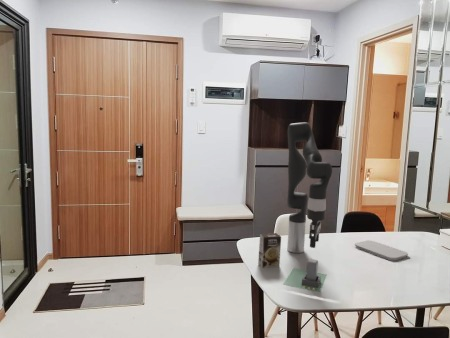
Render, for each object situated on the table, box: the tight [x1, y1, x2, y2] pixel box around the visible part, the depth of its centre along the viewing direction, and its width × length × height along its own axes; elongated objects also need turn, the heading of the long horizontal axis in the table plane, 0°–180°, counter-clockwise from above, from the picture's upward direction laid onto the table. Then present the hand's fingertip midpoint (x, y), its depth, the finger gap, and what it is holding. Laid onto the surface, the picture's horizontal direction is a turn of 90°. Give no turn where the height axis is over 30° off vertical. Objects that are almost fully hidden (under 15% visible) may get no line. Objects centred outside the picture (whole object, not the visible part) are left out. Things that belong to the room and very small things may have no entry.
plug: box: [306, 258, 319, 281], centre depth 159 cm, size 4×4×10 cm
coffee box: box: [257, 232, 282, 268], centre depth 179 cm, size 9×6×16 cm
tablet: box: [354, 240, 409, 262], centre depth 206 cm, size 16×26×2 cm, turn 32°
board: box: [282, 267, 328, 293], centre depth 164 cm, size 20×16×4 cm
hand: (314, 244), depth 157 cm, fingers open, 8 cm apart
